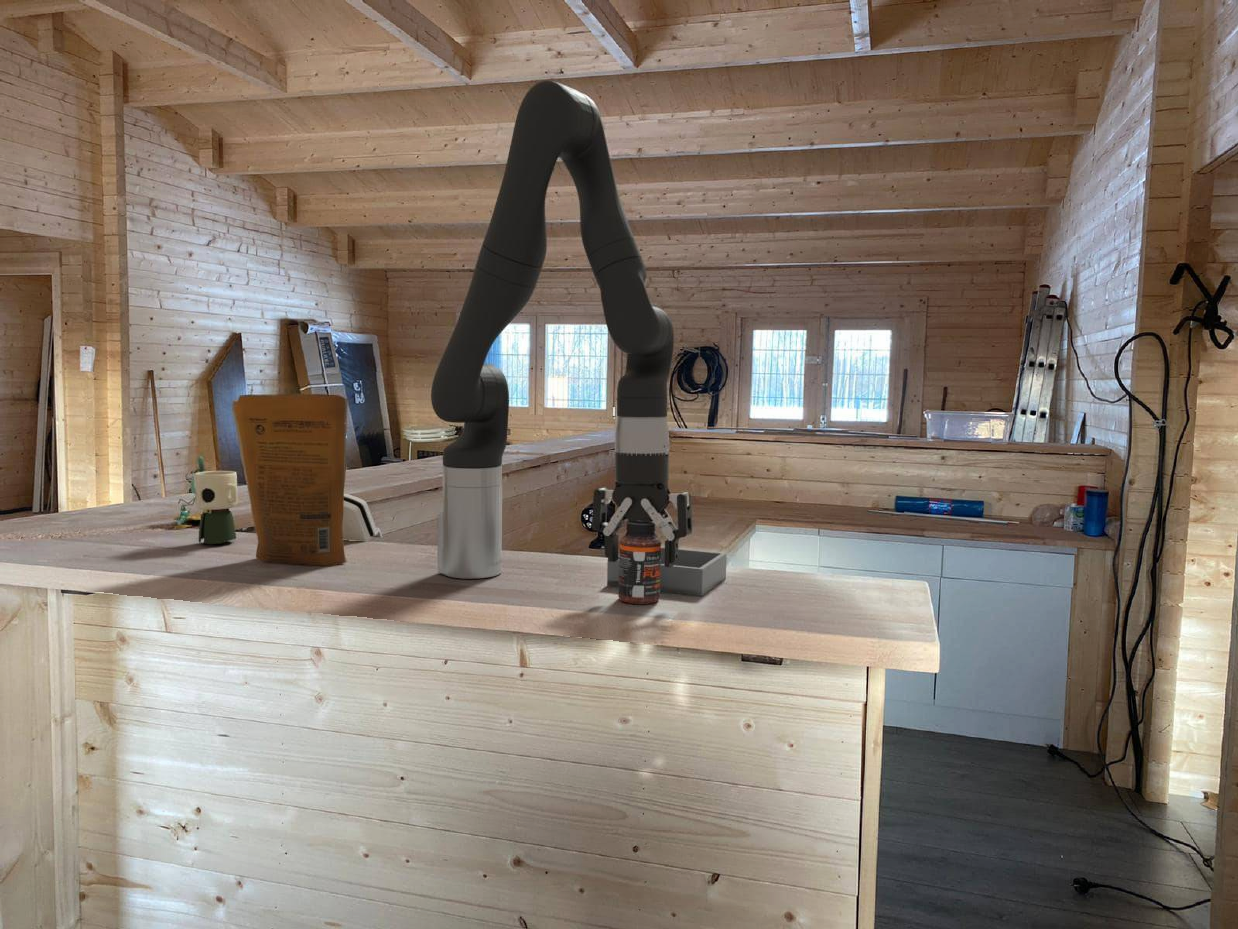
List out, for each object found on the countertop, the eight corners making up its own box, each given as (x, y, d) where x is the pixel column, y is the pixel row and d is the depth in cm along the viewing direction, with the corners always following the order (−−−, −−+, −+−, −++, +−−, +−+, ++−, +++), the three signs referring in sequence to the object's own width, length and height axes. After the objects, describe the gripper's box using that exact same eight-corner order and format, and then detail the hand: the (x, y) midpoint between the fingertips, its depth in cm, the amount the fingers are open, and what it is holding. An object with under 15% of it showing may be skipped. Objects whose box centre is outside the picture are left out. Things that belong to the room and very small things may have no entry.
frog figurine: (145, 528, 176) (149, 454, 176) (214, 524, 193) (217, 456, 193) (183, 531, 173) (186, 455, 173) (250, 526, 190) (253, 458, 190)
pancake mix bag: (340, 570, 141) (337, 394, 138) (233, 563, 145) (228, 392, 142) (360, 561, 148) (358, 394, 145) (257, 555, 151) (253, 391, 148)
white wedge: (384, 537, 170) (372, 490, 165) (369, 549, 166) (356, 502, 162) (315, 530, 176) (302, 485, 172) (299, 541, 172) (285, 496, 168)
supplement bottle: (647, 607, 121) (649, 526, 120) (610, 601, 124) (611, 522, 123) (667, 598, 126) (668, 520, 125) (630, 593, 129) (632, 516, 128)
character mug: (180, 543, 160) (178, 472, 159) (215, 537, 166) (213, 469, 165) (219, 550, 155) (217, 476, 154) (254, 543, 161) (252, 473, 160)
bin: (607, 585, 134) (607, 559, 133) (638, 568, 146) (638, 544, 145) (701, 596, 128) (702, 569, 128) (726, 578, 140) (726, 553, 140)
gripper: (584, 449, 122) (584, 564, 124) (681, 452, 117) (680, 573, 118) (605, 446, 129) (605, 555, 131) (698, 449, 124) (697, 563, 125)
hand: (641, 563), depth 124 cm, fingers open, 8 cm apart
